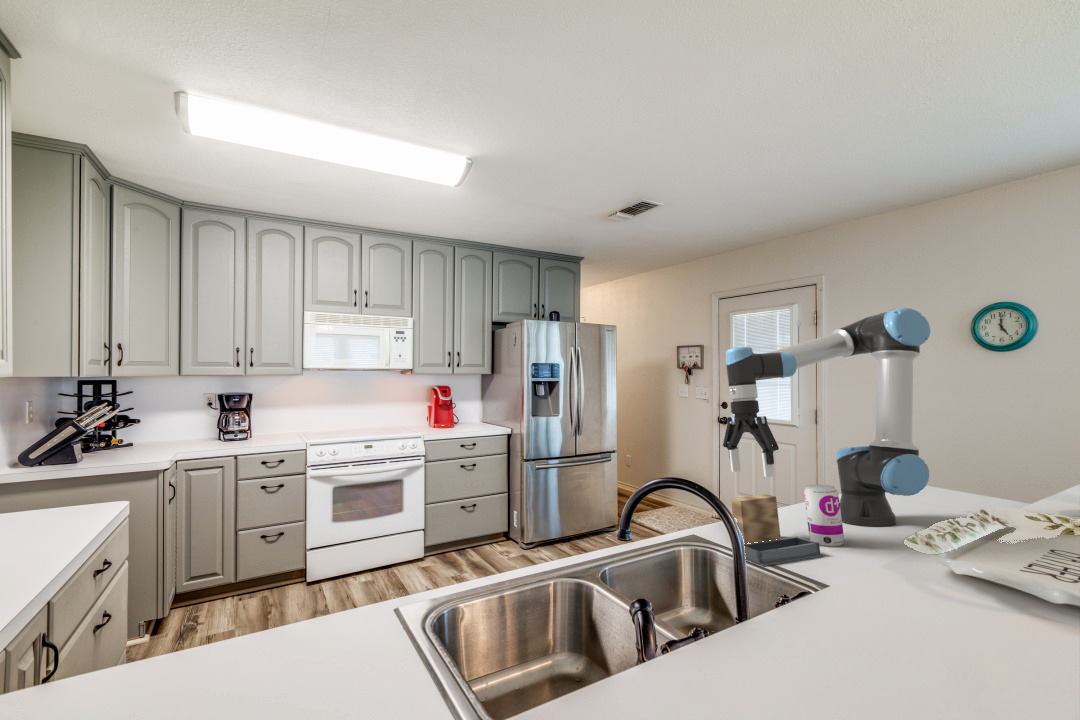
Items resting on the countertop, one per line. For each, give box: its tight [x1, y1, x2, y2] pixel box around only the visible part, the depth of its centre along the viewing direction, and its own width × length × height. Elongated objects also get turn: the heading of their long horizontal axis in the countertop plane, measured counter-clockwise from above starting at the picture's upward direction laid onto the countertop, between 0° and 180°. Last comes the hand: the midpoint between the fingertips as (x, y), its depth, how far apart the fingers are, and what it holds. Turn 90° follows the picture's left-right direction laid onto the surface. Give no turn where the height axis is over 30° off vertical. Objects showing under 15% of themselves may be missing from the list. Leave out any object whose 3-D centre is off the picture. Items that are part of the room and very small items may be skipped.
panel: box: [730, 494, 782, 544], centre depth 135 cm, size 12×4×12 cm, turn 105°
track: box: [744, 536, 825, 568], centre depth 120 cm, size 18×9×3 cm, turn 105°
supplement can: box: [803, 484, 845, 548], centre depth 129 cm, size 8×8×15 cm
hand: (752, 474), depth 136 cm, fingers open, 13 cm apart
